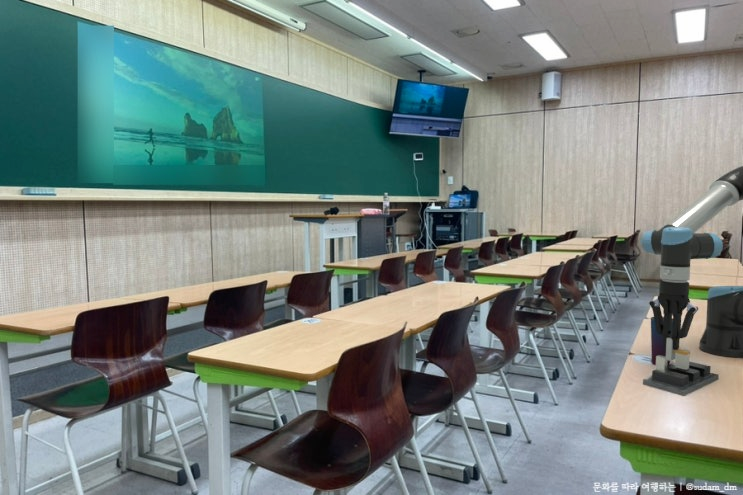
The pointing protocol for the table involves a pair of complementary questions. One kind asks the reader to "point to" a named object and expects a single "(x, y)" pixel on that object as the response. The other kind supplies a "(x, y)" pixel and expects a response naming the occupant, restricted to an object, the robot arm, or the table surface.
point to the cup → (657, 342)
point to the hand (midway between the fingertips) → (670, 359)
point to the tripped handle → (682, 359)
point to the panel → (678, 389)
